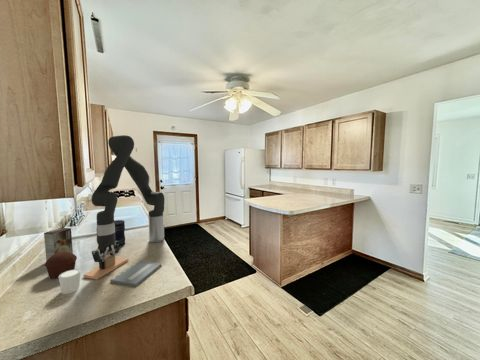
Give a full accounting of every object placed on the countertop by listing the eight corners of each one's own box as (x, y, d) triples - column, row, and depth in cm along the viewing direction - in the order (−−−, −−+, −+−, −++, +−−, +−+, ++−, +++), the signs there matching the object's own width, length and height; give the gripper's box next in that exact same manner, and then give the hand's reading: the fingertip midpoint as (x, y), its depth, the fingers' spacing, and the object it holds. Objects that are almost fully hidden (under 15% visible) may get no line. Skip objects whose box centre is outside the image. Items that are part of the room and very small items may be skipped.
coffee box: (64, 254, 113) (62, 227, 111) (73, 255, 111) (71, 228, 110) (45, 262, 104) (43, 232, 102) (55, 263, 102) (53, 233, 101)
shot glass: (64, 286, 84) (63, 270, 83) (83, 283, 86) (83, 267, 86) (55, 296, 77) (54, 279, 77) (77, 292, 80) (76, 276, 79)
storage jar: (119, 248, 122) (118, 224, 121) (103, 248, 122) (102, 224, 121) (128, 242, 132) (127, 220, 131) (114, 242, 132) (113, 220, 131)
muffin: (40, 277, 90) (38, 255, 90) (68, 265, 101) (67, 246, 100) (53, 283, 86) (52, 261, 85) (82, 271, 96) (81, 251, 95)
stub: (116, 259, 108) (115, 249, 107) (128, 260, 106) (127, 250, 106) (83, 277, 90) (82, 265, 90) (97, 279, 89) (96, 267, 88)
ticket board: (139, 262, 104) (139, 260, 104) (161, 265, 102) (161, 263, 101) (110, 282, 87) (110, 279, 87) (135, 286, 84) (135, 283, 84)
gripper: (112, 227, 105) (113, 258, 106) (85, 236, 91) (87, 272, 92) (124, 228, 103) (125, 259, 104) (99, 238, 89) (100, 274, 90)
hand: (107, 265), depth 98 cm, fingers closed on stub, 5 cm apart
